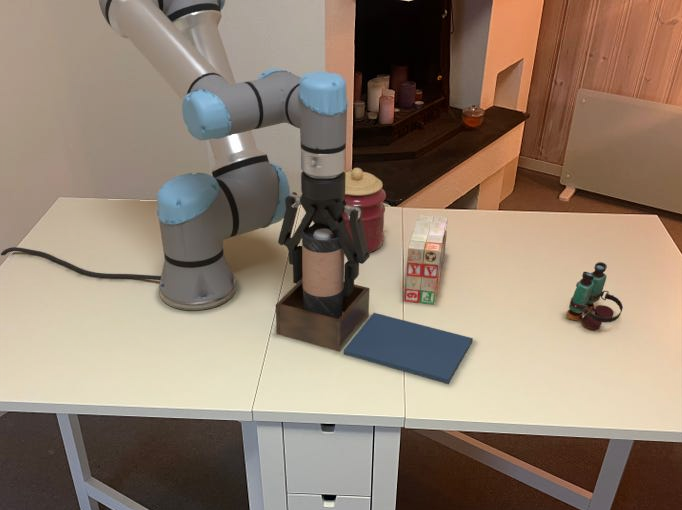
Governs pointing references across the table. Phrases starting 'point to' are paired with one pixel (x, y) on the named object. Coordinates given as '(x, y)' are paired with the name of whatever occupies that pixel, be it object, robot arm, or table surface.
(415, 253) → the stack of blocks
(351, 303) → the cube shelf
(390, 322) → the mat
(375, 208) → the kitchen canister
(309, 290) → the travel mug
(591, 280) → the binoculars
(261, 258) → the table surface
